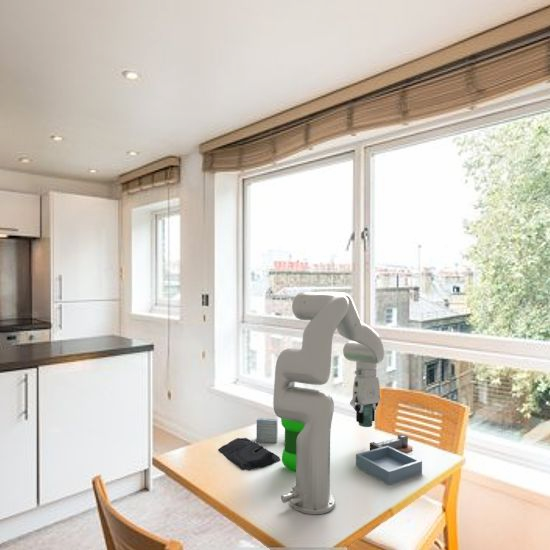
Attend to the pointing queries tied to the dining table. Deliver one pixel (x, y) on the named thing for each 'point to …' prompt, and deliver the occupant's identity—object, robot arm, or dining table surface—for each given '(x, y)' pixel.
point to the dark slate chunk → (248, 454)
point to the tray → (388, 464)
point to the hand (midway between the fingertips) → (365, 420)
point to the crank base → (406, 449)
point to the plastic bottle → (290, 443)
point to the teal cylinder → (367, 415)
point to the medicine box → (267, 429)
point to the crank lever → (392, 443)
